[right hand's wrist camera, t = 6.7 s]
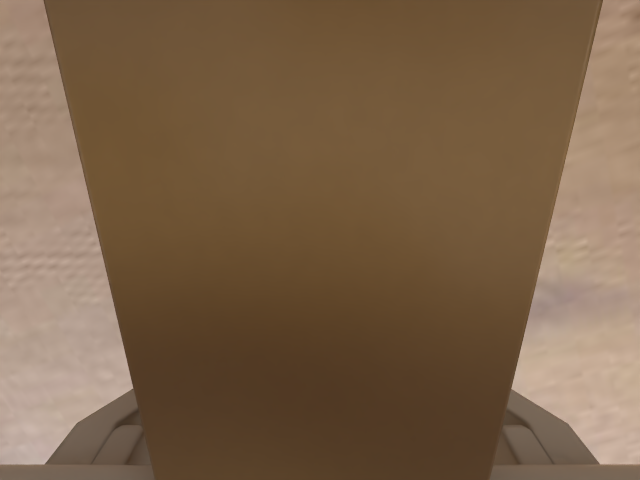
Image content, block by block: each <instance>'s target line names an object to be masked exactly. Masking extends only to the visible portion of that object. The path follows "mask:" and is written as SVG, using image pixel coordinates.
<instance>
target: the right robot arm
mask: <svg viewBox="0 0 640 480" xmlns="http://www.w3.org/2000/svg"><path fill="white" fill-rule="evenodd" d="M0 480H155V479H154V475H153V470H152V466H151V462H150V457H149V453H148V449H147V444H146V440H145V436H144V431H143V427H142V423H141V418H140V414H139V410H138V406H137V401H136V397H135V393H134V389H132V390H130V391H129V392H127V393H125V394H124V395H122V396H121V397H119V398H117V399H116V400H114V401H112V402H111V403H109V404H108V405H106V406H104V407H103V408H101V409H99V410H98V411H96V412H95V413H93V414H91V415H90V416H88V417H86V418H85V419H83V420H81V421H80V422H78V423H77V424H76V425H75V426H74V428H73V429H72V430H71V431H70V433H69V434H68V435H67V437H66V438H65V439H64V440H63V442H62V443H61V444H60V446H59V447H58V448H57V449H56V451H55V452H54V453H53V455H52V456H51V457H50V458H49V460H48V461H47V462H46V463H45V465H0ZM490 480H640V465H600V464H599V462H598V461H597V460H596V459H595V457H594V456H593V455H592V454H591V452H590V451H589V450H588V448H587V447H586V446H585V445H584V443H583V442H582V441H581V440H580V438H579V437H578V436H577V435H576V433H575V432H574V431H573V429H572V428H571V427H570V426H569V424H567V423H566V422H564V421H562V420H561V419H559V418H558V417H556V416H554V415H553V414H551V413H549V412H548V411H546V410H544V409H543V408H541V407H540V406H538V405H536V404H535V403H533V402H531V401H530V400H528V399H526V398H525V397H523V396H522V395H520V394H518V393H517V392H515V391H513V390H512V389H511V392H510V396H509V400H508V404H507V409H506V413H505V417H504V421H503V426H502V430H501V434H500V438H499V443H498V447H497V451H496V455H495V459H494V464H493V468H492V472H491V476H490Z"/></svg>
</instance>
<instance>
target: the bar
mask: <svg viewBox="0 0 640 480" xmlns="http://www.w3.org/2000/svg"><path fill="white" fill-rule="evenodd" d="M602 2H603V0H44V4H45V8H46V13H47V17H48V21H49V26H50V30H51V34H52V39H53V43H54V47H55V51H56V56H57V60H58V64H59V69H60V73H61V77H62V82H63V86H64V90H65V95H66V99H67V103H68V108H69V112H70V116H71V121H72V125H73V129H74V133H75V138H76V142H77V146H78V151H79V155H80V159H81V164H82V168H83V172H84V177H85V181H86V185H87V190H88V194H89V198H90V203H91V207H92V211H93V216H94V220H95V224H96V228H97V233H98V237H99V241H100V246H101V250H102V254H103V259H104V263H105V267H106V272H107V276H108V280H109V285H110V289H111V293H112V298H113V302H114V306H115V311H116V315H117V319H118V323H119V328H120V332H121V336H122V341H123V345H124V349H125V354H126V358H127V362H128V367H129V371H130V375H131V380H132V384H133V388H134V393H135V397H136V401H137V406H138V410H139V414H140V418H141V423H142V427H143V431H144V436H145V440H146V444H147V449H148V453H149V457H150V462H151V466H152V470H153V475H154V479H155V480H490V476H491V472H492V468H493V464H494V459H495V455H496V451H497V447H498V443H499V438H500V434H501V430H502V426H503V421H504V417H505V413H506V409H507V404H508V400H509V396H510V392H511V387H512V383H513V379H514V375H515V371H516V366H517V362H518V358H519V354H520V349H521V345H522V341H523V337H524V332H525V328H526V324H527V320H528V315H529V311H530V307H531V303H532V299H533V294H534V290H535V286H536V282H537V277H538V273H539V269H540V265H541V260H542V256H543V252H544V248H545V243H546V239H547V235H548V231H549V227H550V222H551V218H552V214H553V210H554V205H555V201H556V197H557V193H558V188H559V184H560V180H561V176H562V171H563V167H564V163H565V159H566V154H567V150H568V146H569V142H570V138H571V133H572V129H573V125H574V121H575V116H576V112H577V108H578V104H579V99H580V95H581V91H582V87H583V82H584V78H585V74H586V70H587V66H588V61H589V57H590V53H591V49H592V44H593V40H594V36H595V32H596V27H597V23H598V19H599V15H600V10H601V6H602Z"/></svg>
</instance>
